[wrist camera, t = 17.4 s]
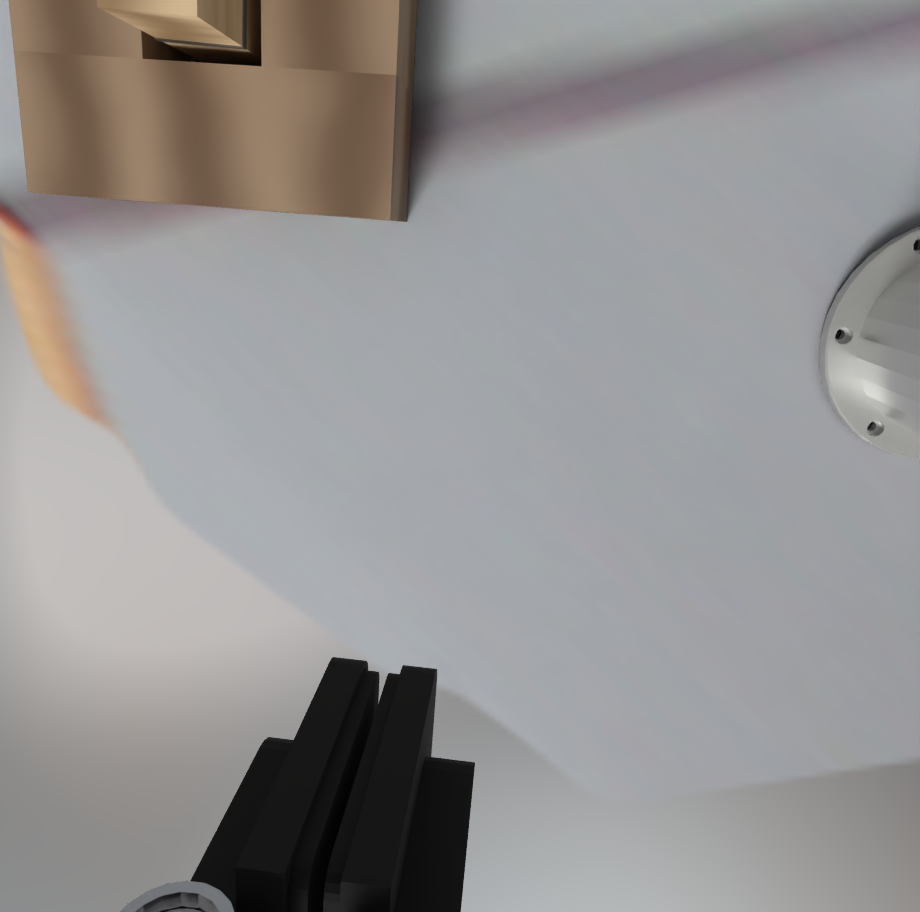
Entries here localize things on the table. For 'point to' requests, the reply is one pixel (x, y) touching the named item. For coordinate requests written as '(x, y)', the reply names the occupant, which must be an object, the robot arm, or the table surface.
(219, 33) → the peg
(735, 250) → the table surface
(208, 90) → the board
